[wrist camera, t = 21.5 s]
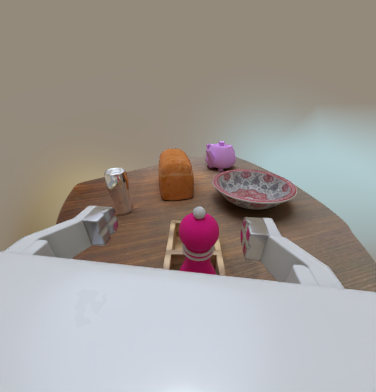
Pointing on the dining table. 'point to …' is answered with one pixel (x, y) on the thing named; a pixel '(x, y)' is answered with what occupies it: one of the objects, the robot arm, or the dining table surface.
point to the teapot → (220, 156)
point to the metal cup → (119, 189)
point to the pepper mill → (198, 241)
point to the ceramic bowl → (254, 188)
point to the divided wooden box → (177, 257)
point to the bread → (175, 175)
